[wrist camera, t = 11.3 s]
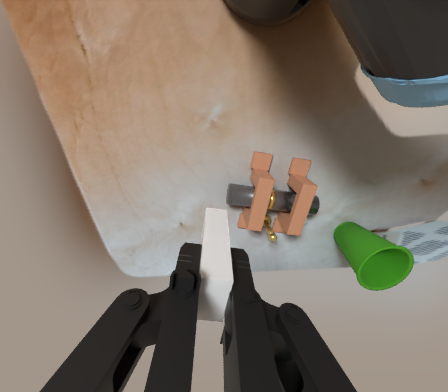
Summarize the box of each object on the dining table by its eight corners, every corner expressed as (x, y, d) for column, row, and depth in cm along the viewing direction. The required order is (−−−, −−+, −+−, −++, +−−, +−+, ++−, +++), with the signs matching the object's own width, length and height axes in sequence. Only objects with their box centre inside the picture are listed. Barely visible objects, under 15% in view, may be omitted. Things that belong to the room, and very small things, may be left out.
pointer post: (260, 214, 41) (268, 232, 35) (272, 215, 41) (282, 234, 35) (257, 225, 42) (265, 244, 36) (269, 226, 42) (278, 246, 36)
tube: (225, 198, 39) (227, 207, 36) (229, 180, 38) (231, 187, 35) (306, 209, 41) (314, 218, 38) (312, 192, 40) (321, 200, 36)
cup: (336, 257, 46) (371, 299, 36) (316, 230, 43) (348, 268, 33) (373, 233, 44) (422, 271, 34) (355, 204, 41) (402, 236, 31)
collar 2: (292, 157, 37) (306, 166, 32) (309, 160, 37) (326, 169, 32) (271, 229, 42) (280, 247, 37) (286, 231, 43) (297, 249, 38)
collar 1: (253, 151, 36) (261, 159, 31) (271, 154, 36) (282, 162, 31) (237, 225, 42) (241, 243, 36) (253, 227, 42) (259, 245, 37)
